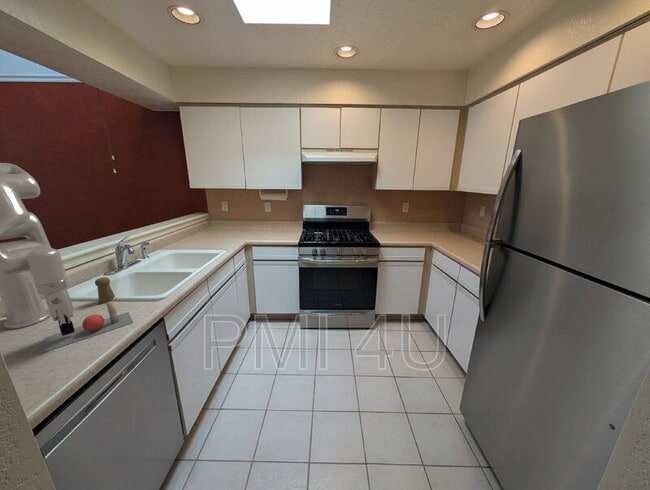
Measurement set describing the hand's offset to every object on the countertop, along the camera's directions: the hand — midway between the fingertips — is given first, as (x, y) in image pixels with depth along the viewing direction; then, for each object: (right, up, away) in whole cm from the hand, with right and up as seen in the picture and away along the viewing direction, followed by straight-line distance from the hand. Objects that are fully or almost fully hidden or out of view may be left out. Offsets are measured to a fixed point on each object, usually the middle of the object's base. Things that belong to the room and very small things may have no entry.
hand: (68, 333), depth 90 cm
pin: (+9, +1, +9) cm, 13 cm away
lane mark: (+4, 0, +5) cm, 6 cm away
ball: (+5, +2, +4) cm, 7 cm away
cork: (-9, +6, +27) cm, 29 cm away
